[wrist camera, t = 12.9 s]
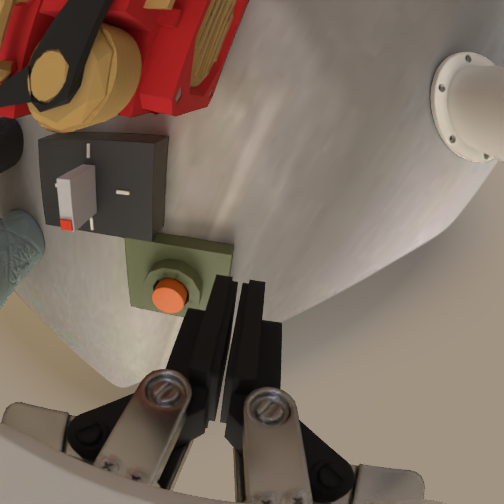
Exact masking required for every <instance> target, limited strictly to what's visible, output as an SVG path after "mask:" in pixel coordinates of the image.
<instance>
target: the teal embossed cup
mask: <svg viewBox="0 0 504 504" xmlns="http://www.w3.org/2000/svg"><path fill="white" fill-rule="evenodd" d="M43 253H44V238H43V235H42V232H41V229H40V227H39V226H38V224H37V222H36V221H35V220H34V219H33V217H32V216H31V215H29V214H28V213H27V212H25V211H23V210H13V211H11V212H9V213H7V214H6V215H4V216H3V217H2V218H0V308H1V307H2V305H3V304H4V303H5V301H6V300H7V297H8V296H10V295H11V293H12V292H13V291H14V289H15V287H16V286H17V285H18V283H19V282H20V281H21V280H22V279H23V278H24V277H25V276H26V274H27V273H28V272H29V271H30V269H32V268H33V266H34V265H35V264H36V263H37V262H38V261H39V260H40V259H41V257H42V255H43Z"/></svg>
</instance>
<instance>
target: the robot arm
mask: <svg viewBox="0 0 504 504" xmlns="http://www.w3.org/2000/svg"><path fill="white" fill-rule="evenodd" d="M430 99H431V110H432V115H433V119H434V122H435V125H436V128H437V130H438V132H439V134H440V136H441V138H442V139H443V141H444V142H445V143H446V145H447V146H448V147H449V148H450V149H451V150H452V151H453V152H454V153H455V154H457V155H458V156H460V157H462V158H464V159H466V160H468V161H471V162H477V163H481V162H487V161H490V160H492V159H494V158H496V159H498V160H500V161H502V162H504V67H503V66H496V65H495V64H494V63H493V62H491V61H490V60H489V59H488V58H486V57H484V56H482V55H480V54H477V53H474V52H460V53H455V54H453V55H450V56H448V57H447V58H446V59H445V60H444V61H442V63H441V64H440V66H439V67H438V68H437V70H436V73H435V75H434V77H433V82H432V86H431V97H430ZM237 286H238V282H234V281H232V277H230V276H224V275H218V274H217V275H216V278H215V281H214V284H213V287H212V290H211V294H210V297H209V300H208V303H207V306H206V310H205V311H204V310H199V309H193V308H188V309H187V312H186V314H185V317H184V320H183V322H182V325H181V328H180V330H179V333H178V336H177V339H176V341H175V344H174V347H173V350H172V353H171V355H170V358H169V361H168V364H167V367H166V369H160V370H156V371H153V372H151V373H150V374H148V375H146V377H145V378H144V379H143V380H142V381H141V383H140V385H139V386H138V388H137V390H136V391H135V393H133V394H131V395H128V396H126V397H123V398H121V399H118V400H116V401H113V402H111V403H108V404H106V405H103V406H101V407H99V408H96V409H93V410H91V411H88V412H85V413H83V414H80V415H78V416H72V415H69V413H68V412H62V411H57V410H52V409H47V408H43V407H38V406H34V405H29V404H25V403H22V402H15V403H13V404H11V405H9V406H8V407H7V408H6V410H5V412H4V414H3V418H2V422H1V423H0V504H445V503H442V502H438V501H434V500H424V489H425V487H424V481H423V479H422V477H421V475H419V474H418V473H417V472H414V471H411V470H401V469H392V468H384V467H376V466H370V465H363V464H360V465H358V466H356V465H350V464H349V463H348V462H347V461H346V460H344V459H343V458H342V457H341V456H340V455H338V454H337V453H336V452H335V451H334V450H333V449H331V448H330V447H329V446H328V445H327V444H326V443H324V442H323V441H322V440H321V439H320V438H319V437H318V436H316V435H315V434H314V433H313V432H312V431H311V430H310V429H309V428H308V427H306V426H305V425H304V424H303V423H302V422H301V421H300V420H299V417H298V411H297V406H296V404H295V401H294V400H293V398H292V397H291V396H290V395H289V394H287V393H286V392H285V391H283V390H281V389H280V381H281V348H282V347H281V346H282V323H279V322H272V321H265V320H262V315H263V304H264V292H265V282H261V281H255V280H250V281H249V284H247V283H243V285H242V290H241V295H240V301H239V306H238V311H237V317H236V322H235V328H234V333H233V338H232V344H231V349H230V355H229V360H228V366H227V371H226V378H225V386H224V394H223V402H222V411H221V419H220V422H222V423H227V425H226V430H225V438H226V439H227V440H228V441H229V442H230V444H231V445H232V446H233V447H234V448H233V452H234V453H233V454H234V477H235V498H236V502H227V501H221V500H214V499H208V498H202V497H197V496H192V495H187V494H183V493H178V492H174V491H173V488H174V486H175V484H176V481H177V479H178V476H179V474H180V472H181V470H182V467H183V465H184V462H185V460H186V458H187V455H188V453H189V451H190V448H191V446H192V443H193V440H194V439H195V438H197V437H198V436H200V435H202V434H204V433H205V428H207V426H208V421H209V420H211V421H215V418H216V413H217V407H218V402H219V397H220V392H221V387H222V381H223V376H224V371H225V365H226V360H227V355H228V350H229V344H230V339H231V331H232V324H233V316H234V308H235V301H236V293H237Z"/></svg>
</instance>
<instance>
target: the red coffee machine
mask: <svg viewBox="0 0 504 504" xmlns="http://www.w3.org/2000/svg"><path fill="white" fill-rule="evenodd" d="M248 2H249V0H0V116H2V117H7V118H12V119H15V118H18V117H22V116H25V115H29V114H32V116H33V117H34V118H35V120H36V121H37V122H38V123H39V124H40V125H41V126H42V127H44V128H45V129H47V130H49V131H52V132H57V133H67V132H72V131H75V130H78V129H82V128H85V127H88V126H92V125H95V124H98V123H102V122H104V121H107V120H109V119H111V118H113V117H114V116H116V115H117V114H118V115H122V116H126V117H134V116H138V115H142V114H146V113H150V112H151V113H153V114H156V115H157V114H159V113H164V114H168V115H172V116H179V115H182V114H185V113H188V112H191V111H194V110H198V109H201V108H205V107H207V106H208V104H209V102H210V100H211V98H212V96H213V93H214V91H215V88H216V85H217V82H218V79H219V76H220V73H221V70H222V68H223V65H224V62H225V59H226V57H227V54H228V51H229V49H230V46H231V44H232V41H233V38H234V36H235V33H236V31H237V28H238V26H239V23H240V21H241V18H242V16H243V14H244V11H245V9H246V6H247V4H248ZM154 111H155V112H154ZM157 112H159V113H157Z"/></svg>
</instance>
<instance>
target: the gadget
mask: <svg viewBox="0 0 504 504" xmlns="http://www.w3.org/2000/svg"><path fill="white" fill-rule="evenodd" d="M168 142H169V136H162V135H148V134H132V133H109V132H67V133H55V134H52V135H49V136H47V137H44V138H41V139H39V140H38V145H39V166H40V179H41V189H42V199H43V207H44V214H45V221H46V224H48V225H53V226H59V227H61V224H60V211H59V202H58V192H57V178H58V177H60V176H62V175H64V174H65V173H67V172H69V171H71V170H73V169H75V168H77V167H78V166H80V165H82V164H85V165H95V180H96V203H97V213H96V214H94V215H93V216H92V217H91V218H90V219H89V220H88V221H86V222H85V223H84V224H83V225H82V226H81V227H80V228H79V229H77V230H82V231H88V232H94V233H100V234H106V235H111V236H117V237H123V238H129V239H135V240H141V241H147V242H153V241H154V239H155V238H156V236H157V235H158V233H159V232H160V230H161V229H162V228H163V226H164V210H165V187H166V169H167V154H168Z"/></svg>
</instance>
